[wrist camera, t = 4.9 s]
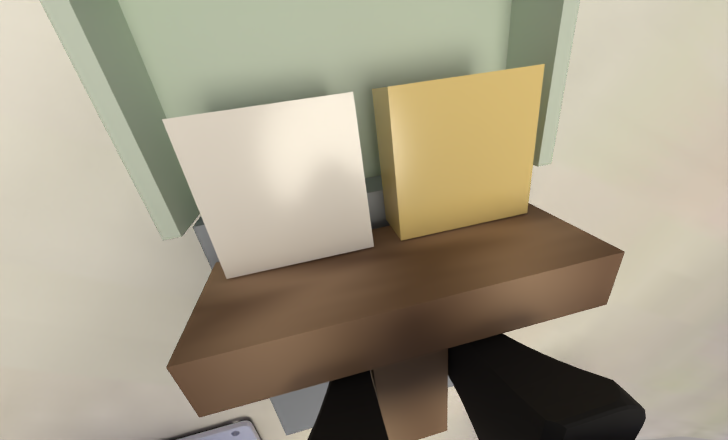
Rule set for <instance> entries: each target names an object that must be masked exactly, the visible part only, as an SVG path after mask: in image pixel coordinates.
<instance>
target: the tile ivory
mask: <svg viewBox="0 0 728 440" xmlns="http://www.w3.org/2000/svg"><path fill="white" fill-rule="evenodd" d="M162 121H163V123H164V126H165V128H166V131H167V133H168V136H169V138H170V141H171V143H172V146H173V148H174V151H175V153H176V155H177V158H178V160H179V163H180V165H181V168H182V170H183V173H184V175H185V178H186V180H187V183H188V185H189V187H190V190H191V192H192V195H193V197H194V200H195V202H196V205H197V207H198V210H199V212H200V214H201V217H202V219H203V222H204V224H205V227H206V229H207V232H208V234H209V237H210V239H211V242H212V244H213V246H214V249H215V251H216V254H217V256H218V259H219V261H220V264H221V266H222V269H223V271H224V274H225V276H226V278H227V279H229V278H234V277H238V276H243V275H247V274H252V273H257V272H261V271H266V270H270V269H275V268H279V267H284V266H288V265H293V264H297V263H302V262H307V261H311V260H316V259H320V258H325V257H329V256H334V255H338V254H343V253H347V252H352V251H357V250H361V249H366V248H370V247H374V243H373V236H372V228H371V221H370V213H369V206H368V199H367V191H366V184H365V176H364V169H363V161H362V154H361V147H360V139H359V132H358V124H357V117H356V109H355V102H354V95H353V92H347V93H340V94H333V95H327V96H320V97H313V98H306V99H299V100H292V101H285V102H278V103H271V104H265V105H258V106H251V107H244V108H237V109H230V110H223V111H216V112H209V113H202V114H196V115H189V116H182V117H175V118H168V119H162Z"/></svg>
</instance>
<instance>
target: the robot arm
mask: <svg viewBox="0 0 728 440" xmlns="http://www.w3.org/2000/svg"><path fill="white" fill-rule="evenodd" d="M448 376H449V378H450V380H451V381H452V383H453V385H454V387H455V389H456V391H457V393H458V394H459V396H460V398H461V401H462V403H463V405H464V407H465V409H466V412H467V414H468V416H469V418H470V420H471V423H472V425H473V427H474V429H475V432H476V434H477V436H478V439H479V440H635V438H636V437H637V435H638V433H639V431H640V430H641V428H642V426H643V424H644V422H645V419H646V415H645V410H644V408H643V407H642V406H641V405H640V404H639V403H638V402H637V401H636V400H634V399H633V398H632V397H631V396H630V395H629V394H628V393H627V392H626V391H625V390H624V389H623V388H621V387H620V386H619V385H618V384H617V383H616V382H614V381H613V380H611V379H608V378H605V377H602V376H599V375H596V374H593V373H590V372H588V371H585V370H582V369H579V368H576V367H573V366H571V365H568V364H566V363H563V362H561V361H558V360H556V359H554V358H551V357H549V356H547V355H544V354H542V353H540V352H538V351H536V350H534V349H531V348H529V347H527V346H525V345H523V344H521V343H519V342H517V341H515V340H513V339H511V338H510V337H508V336H506V335H504V334H498V335H494V336H491V337H487V338H484V339H480V340H476V341H473V342H469V343H466V344H462V345H458V346H455V347H451V348H448ZM177 440H260V438H259V436H258V434H257V432H256V430H255V428H254V426H253V425H252V423H251V422H250V421H246V420H245V421H240V422H237V423H233V424H230V425H226V426H223V427H219V428H216V429H212V430H209V431H205V432H202V433H198V434H195V435H191V436H188V437H184V438H181V439H177ZM308 440H389V439H388V435H387V432H386V428H385V425H384V421H383V417H382V414H381V410H380V406H379V403H378V399H377V395H376V392H375V388H374V384H373V381H372V377H371V373H370V370H369V371H365V372H361V373H358V374H354V375H351V376H347V377H343V378H340V379H336V380H333V381H329V384H328V388H327V391H326V394H325V397H324V400H323V402H322V405H321V408H320V411H319V414H318V416H317V419H316V421H315V423H314V426H313V428H312V430H311V433H310V435H309V438H308Z"/></svg>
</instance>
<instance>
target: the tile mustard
mask: <svg viewBox="0 0 728 440" xmlns="http://www.w3.org/2000/svg"><path fill="white" fill-rule="evenodd" d="M544 66H545V64H540V65H533V66H527V67H520V68H513V69H506V70H499V71H492V72H485V73H478V74H471V75H465V76H458V77H451V78H444V79H437V80H430V81H423V82H416V83H409V84H402V85H396V86H389V87H382V88H375V89H372V96H373V105H374V114H375V123H376V132H377V142H378V151H379V160H380V169H381V178H382V187H383V196H384V206H385V215H386V220H387V221H388V223H389V224H390V226H391V227H392V228H393V230H394V231H395V233H396V234H397V236H398V237H399V238H400V240H401V241H402V240H407V239H411V238H416V237H420V236H425V235H429V234H434V233H438V232H443V231H447V230H452V229H457V228H461V227H466V226H470V225H475V224H479V223H484V222H488V221H493V220H497V219H502V218H507V217H511V216H516V215H520V214H525V213H527V210H528V201H529V193H530V184H531V176H532V167H533V159H534V151H535V142H536V134H537V125H538V117H539V108H540V100H541V91H542V83H543V74H544Z"/></svg>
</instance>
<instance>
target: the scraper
mask: <svg viewBox="0 0 728 440" xmlns="http://www.w3.org/2000/svg"><path fill="white" fill-rule="evenodd" d="M372 236H373V243H374V247H370V248H366V249H361V250H357V251H352V252H347V253H343V254H338V255H334V256H329V257H325V258H320V259H316V260H311V261H307V262H302V263H297V264H293V265H288V266H284V267H279V268H275V269H270V270H266V271H261V272H257V273H252V274H247V275H243V276H238V277H234V278H229V279H227V278H226V276H225V274H224V271H223V269H222V266H221V264H220V262H216V263H215V265H214V267H213V269H212V272H211V274H210V276H209V278H208V280H207V282H206V284H205V286H204V289H203V291H202V293H201V295H200V297H199V299H198V301H197V303H196V306H195V308H194V310H193V312H192V314H191V316H190V318H189V320H188V322H187V325H186V327H185V329H184V331H183V333H182V335H181V337H180V339H179V342H178V344H177V346H176V348H175V350H174V352H173V354H172V356H171V359H170V361H169V363H168V365H167V367H166V368H167V369H168V371H169V372H170V374H171V375H172V377H173V378H174V380H175V381H176V383H177V384H178V386H179V387H180V389H181V390H182V392H183V394H184V395H185V397H186V398H187V400H188V401H189V403H190V404H191V406H192V407H193V409H194V410H195V412H196V413H197V415H198V416H199V418H200V417H203V416H207V415H210V414H214V413H217V412H221V411H225V410H228V409H232V408H235V407H239V406H243V405H246V404H250V403H253V402H257V401H261V400H264V399H268V398H271V397H275V396H279V395H282V394H286V393H289V392H293V391H297V390H300V389H304V388H307V387H311V386H315V385H318V384H322V383H325V382H329V381H333V380H336V379H340V378H343V377H347V376H351V375H354V374H358V373H361V372H365V371H369V370H370V373H371V377H372V381H373V384H374V388H375V392H376V395H377V399H378V403H379V406H380V410H381V414H382V417H383V421H384V425H385V428H386V432H387V435H388V439H389V440H419V439H422V438H425V437H428V436H431V435H434V434H437V433H441V432H444V431H447V396H448V348H451V347H455V346H458V345H462V344H466V343H469V342H473V341H476V340H480V339H484V338H487V337H491V336H494V335H498V334H502V333H505V332H509V331H512V330H516V329H520V328H523V327H527V326H530V325H534V324H538V323H541V322H545V321H548V320H552V319H556V318H559V317H563V316H566V315H570V314H574V313H577V312H581V311H584V310H588V309H592V308H595V307H599V306H602V305H606V304H607V302H608V299H609V296H610V293H611V290H612V287H613V285H614V282H615V279H616V276H617V273H618V270H619V267H620V264H621V261H622V258H623V255H624V251H622V250H620V249H618V248H616V247H614V246H612V245H610V244H608V243H606V242H604V241H602V240H600V239H598V238H597V237H595V236H593V235H591V234H589V233H587V232H585V231H583V230H581V229H579V228H577V227H575V226H573V225H571V224H569V223H567V222H565V221H563V220H561V219H559V218H557V217H555V216H553V215H551V214H549V213H547V212H545V211H543V210H541V209H539V208H537V207H535V206H533V205H531V204H529V203H528V210H527V213H525V214H520V215H516V216H511V217H507V218H502V219H497V220H493V221H488V222H484V223H479V224H475V225H470V226H466V227H461V228H457V229H452V230H447V231H443V232H438V233H434V234H429V235H425V236H420V237H416V238H411V239H407V240H402V241H401V240H400V238H399V237H398V236H397V234H396V233H395V231H394V230H393V228H392V227H391V226H386V227H381V228H376V229H372Z"/></svg>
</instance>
